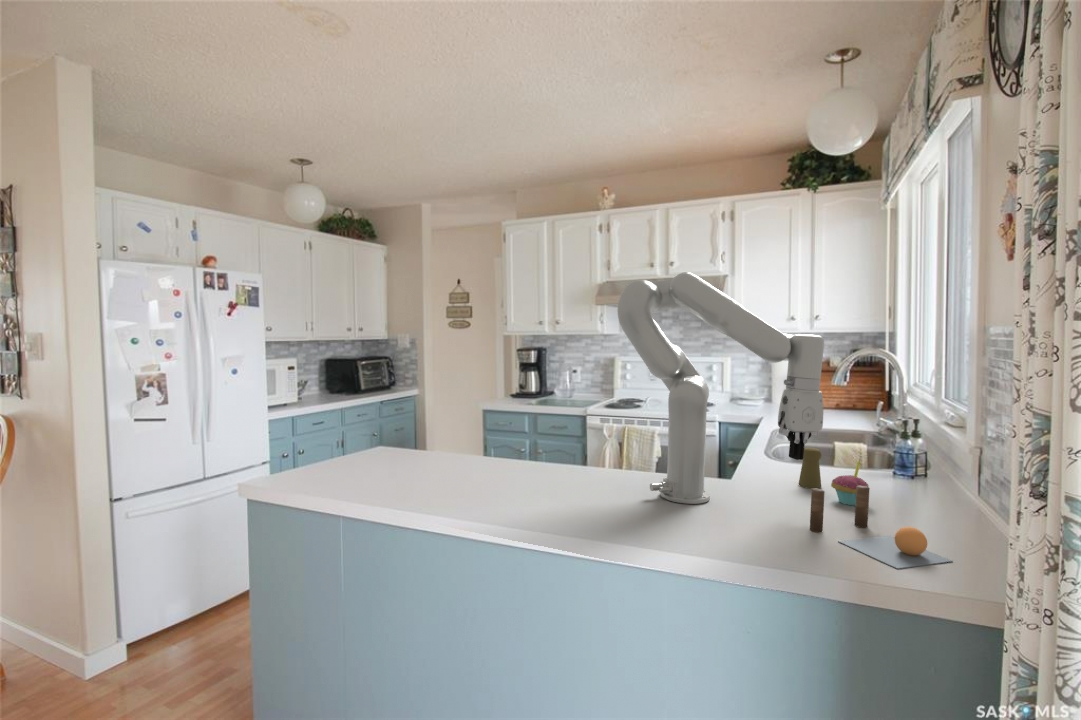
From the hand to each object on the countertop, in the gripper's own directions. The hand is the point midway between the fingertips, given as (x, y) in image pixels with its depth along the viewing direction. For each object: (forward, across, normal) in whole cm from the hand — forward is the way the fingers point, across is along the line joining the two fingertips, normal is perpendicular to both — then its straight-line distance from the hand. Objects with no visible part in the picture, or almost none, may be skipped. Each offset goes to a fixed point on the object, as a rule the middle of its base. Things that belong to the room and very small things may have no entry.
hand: (795, 458), depth 141 cm
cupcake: (+12, +19, +1) cm, 23 cm away
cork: (+13, +21, +17) cm, 30 cm away
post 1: (+13, -5, -14) cm, 20 cm away
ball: (+9, +3, -30) cm, 31 cm away
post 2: (+12, +8, -14) cm, 20 cm away
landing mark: (+12, +1, -28) cm, 30 cm away
